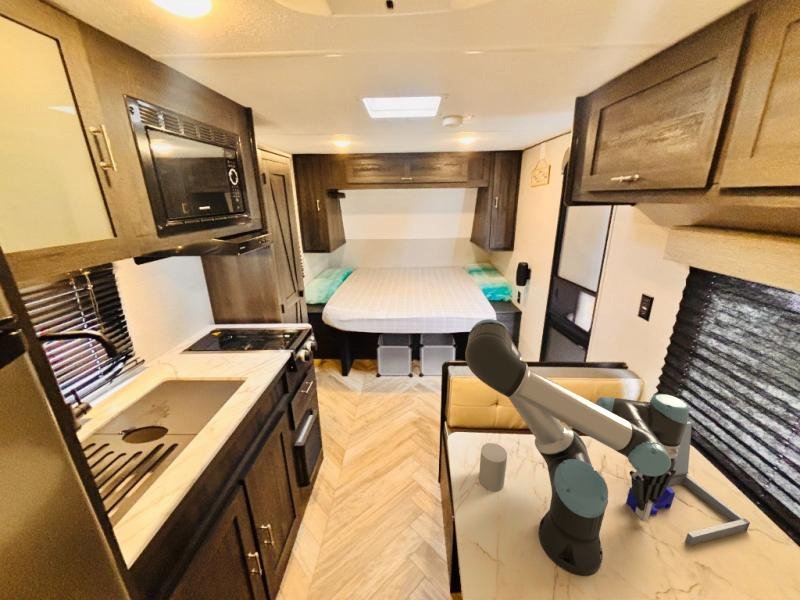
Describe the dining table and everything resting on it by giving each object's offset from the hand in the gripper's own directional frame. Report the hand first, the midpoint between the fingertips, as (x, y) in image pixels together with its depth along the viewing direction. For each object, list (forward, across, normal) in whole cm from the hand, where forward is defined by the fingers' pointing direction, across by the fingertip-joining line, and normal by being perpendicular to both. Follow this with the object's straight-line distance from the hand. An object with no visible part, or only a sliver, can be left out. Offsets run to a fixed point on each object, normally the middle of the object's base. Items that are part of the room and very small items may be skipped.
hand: (641, 516), depth 89 cm
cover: (-10, +23, +10) cm, 27 cm away
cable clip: (+2, +7, +3) cm, 8 cm away
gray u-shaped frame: (+2, +17, +1) cm, 17 cm away
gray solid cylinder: (+1, -36, +21) cm, 42 cm away
